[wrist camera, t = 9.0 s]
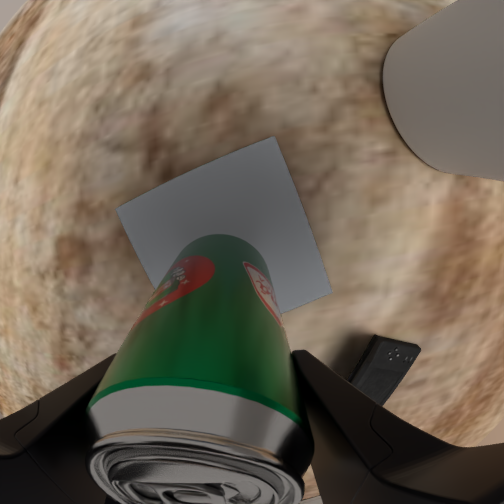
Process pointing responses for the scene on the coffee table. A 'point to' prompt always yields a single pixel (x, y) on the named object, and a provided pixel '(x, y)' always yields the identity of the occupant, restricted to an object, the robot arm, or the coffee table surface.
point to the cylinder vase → (452, 88)
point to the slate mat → (232, 220)
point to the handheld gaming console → (383, 367)
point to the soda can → (203, 391)
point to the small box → (312, 500)
